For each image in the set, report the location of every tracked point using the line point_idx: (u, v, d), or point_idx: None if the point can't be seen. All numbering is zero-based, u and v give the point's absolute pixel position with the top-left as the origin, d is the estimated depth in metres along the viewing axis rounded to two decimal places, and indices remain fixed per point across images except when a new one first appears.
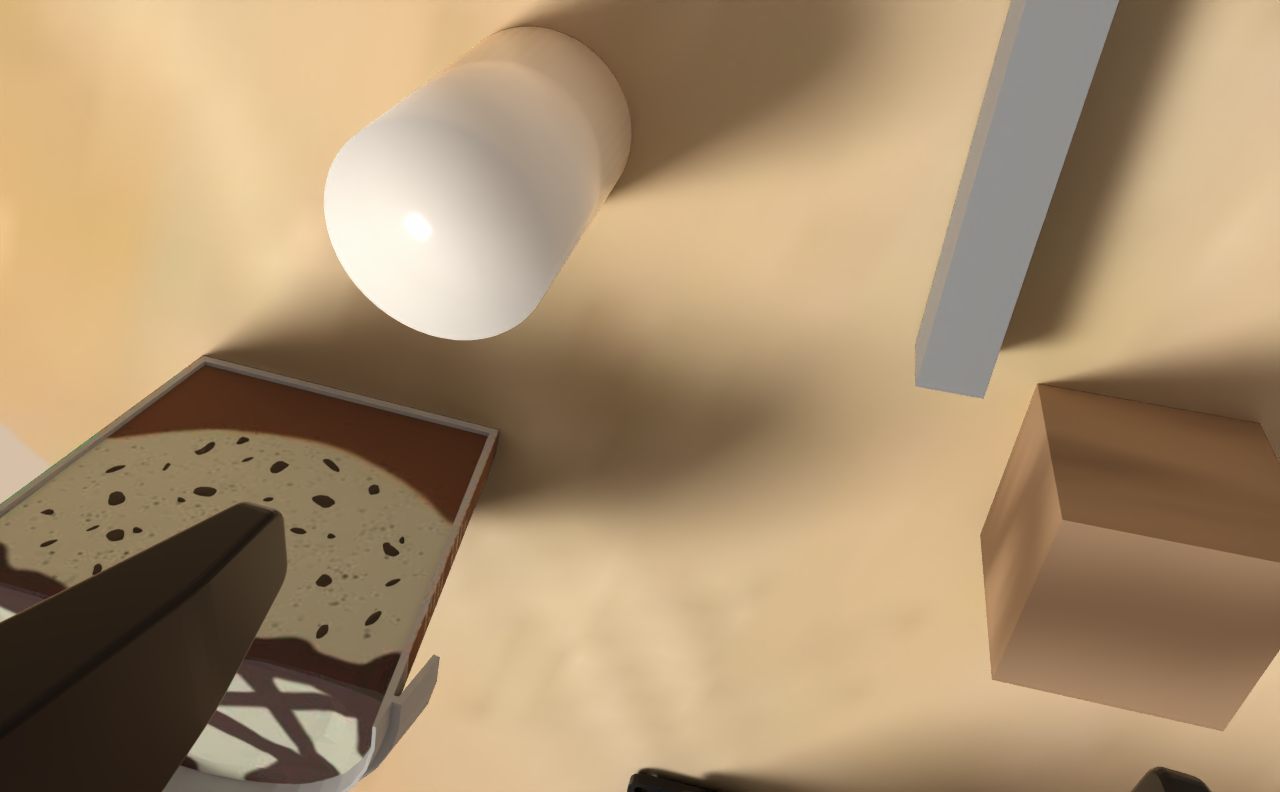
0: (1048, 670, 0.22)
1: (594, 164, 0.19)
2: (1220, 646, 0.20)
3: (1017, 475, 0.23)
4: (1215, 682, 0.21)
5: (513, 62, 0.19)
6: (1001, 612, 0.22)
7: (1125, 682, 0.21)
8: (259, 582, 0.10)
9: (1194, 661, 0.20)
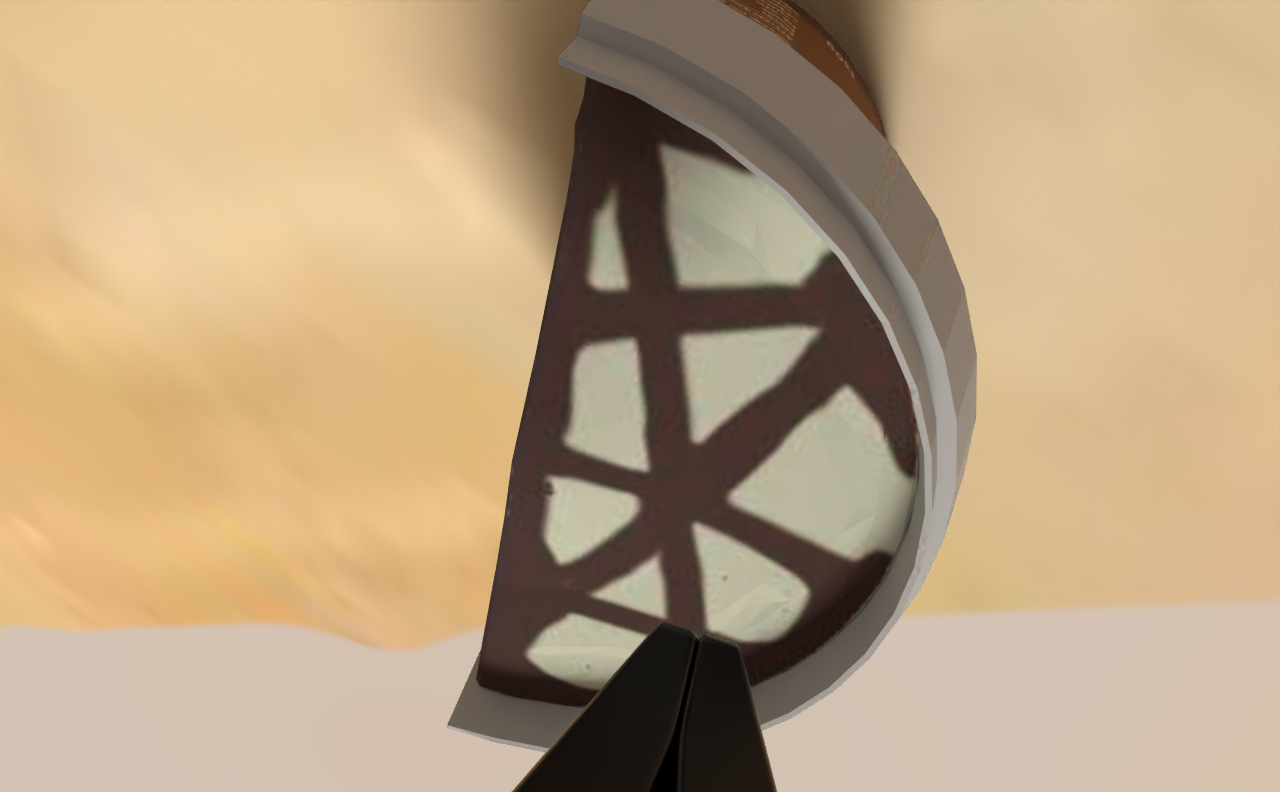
0: None
1: None
2: None
3: None
4: None
5: None
6: None
7: None
8: None
9: None
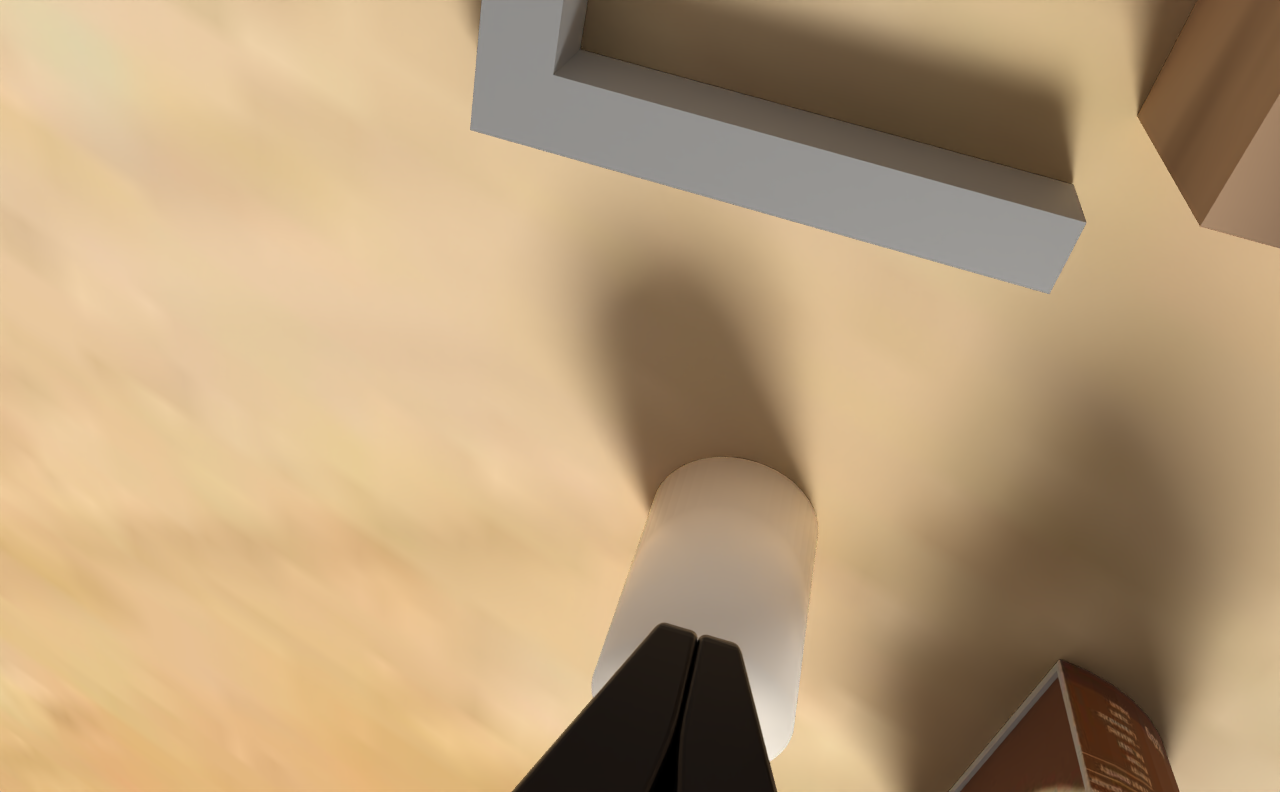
0: None
1: (713, 537, 0.22)
2: None
3: None
4: None
5: (634, 557, 0.23)
6: None
7: None
8: None
9: None
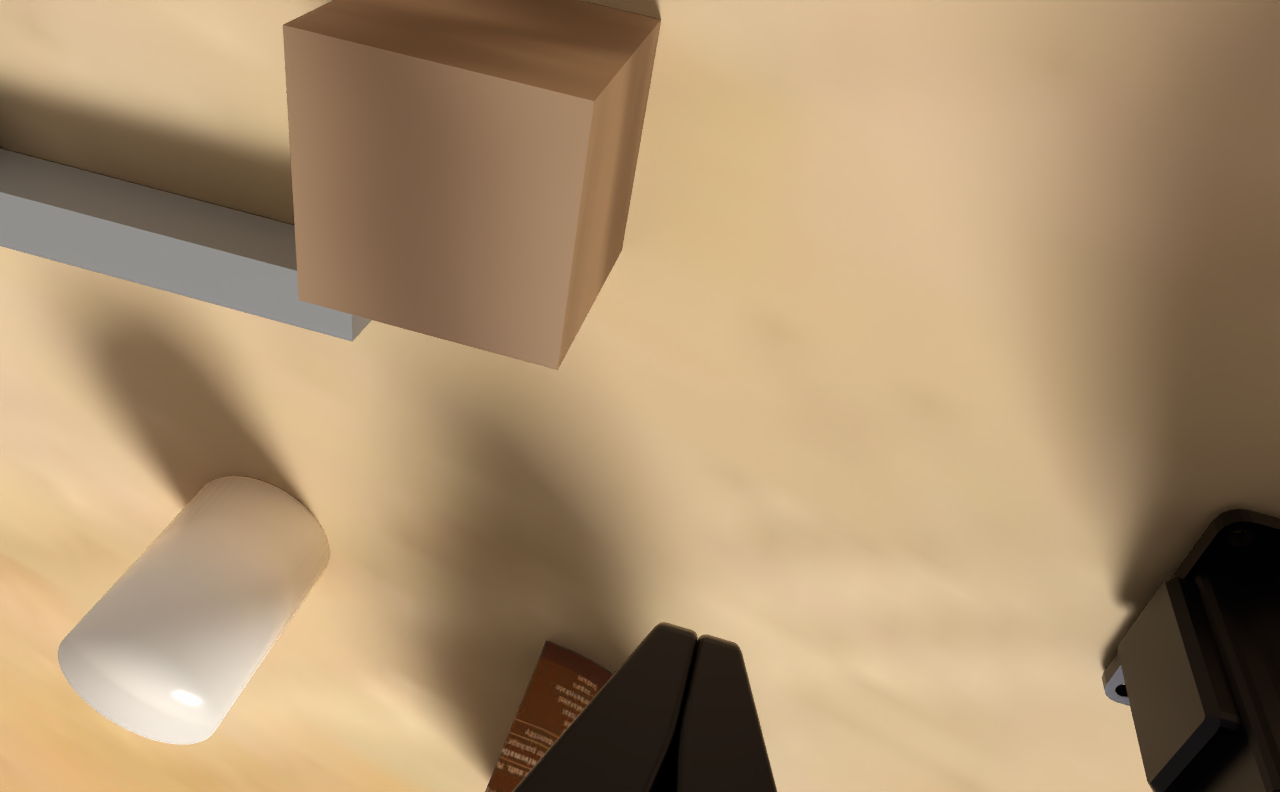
0: (526, 311, 0.17)
1: (179, 545, 0.26)
2: (433, 128, 0.15)
3: None
4: (500, 124, 0.15)
5: None
6: None
7: (526, 227, 0.16)
8: None
9: (468, 154, 0.15)
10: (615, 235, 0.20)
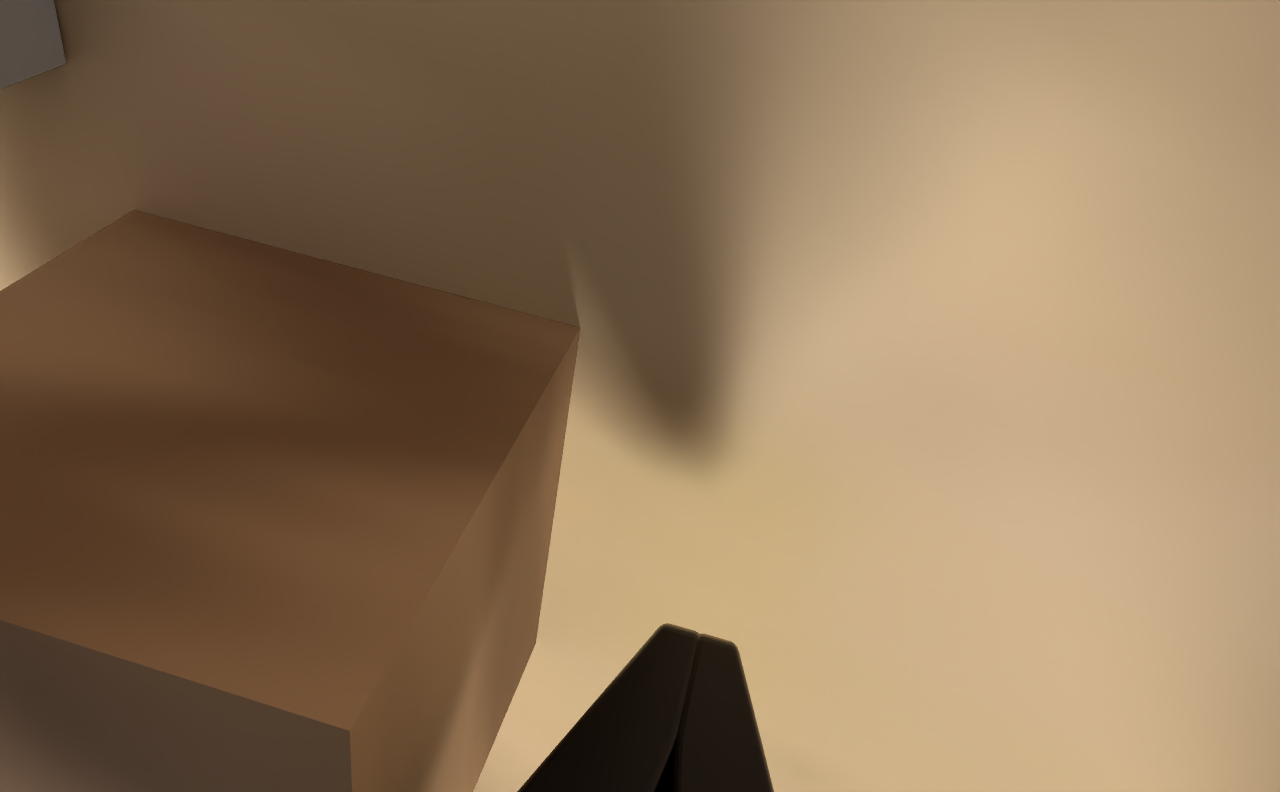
0: None
1: None
2: (19, 713, 0.07)
3: None
4: (152, 730, 0.06)
5: None
6: None
7: None
8: None
9: (102, 762, 0.07)
10: (510, 669, 0.11)
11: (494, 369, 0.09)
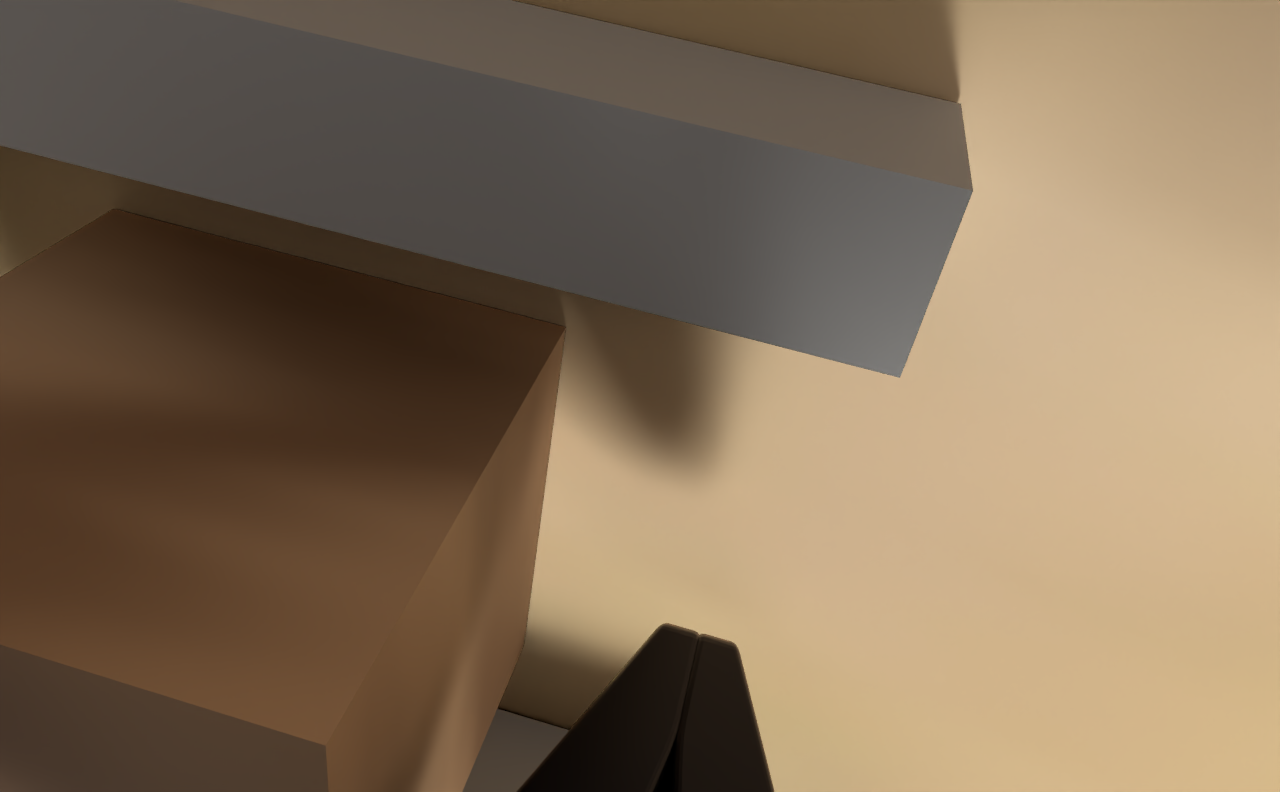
0: None
1: None
2: None
3: None
4: (125, 746, 0.06)
5: None
6: None
7: None
8: None
9: (75, 778, 0.07)
10: (497, 674, 0.11)
11: (477, 371, 0.09)
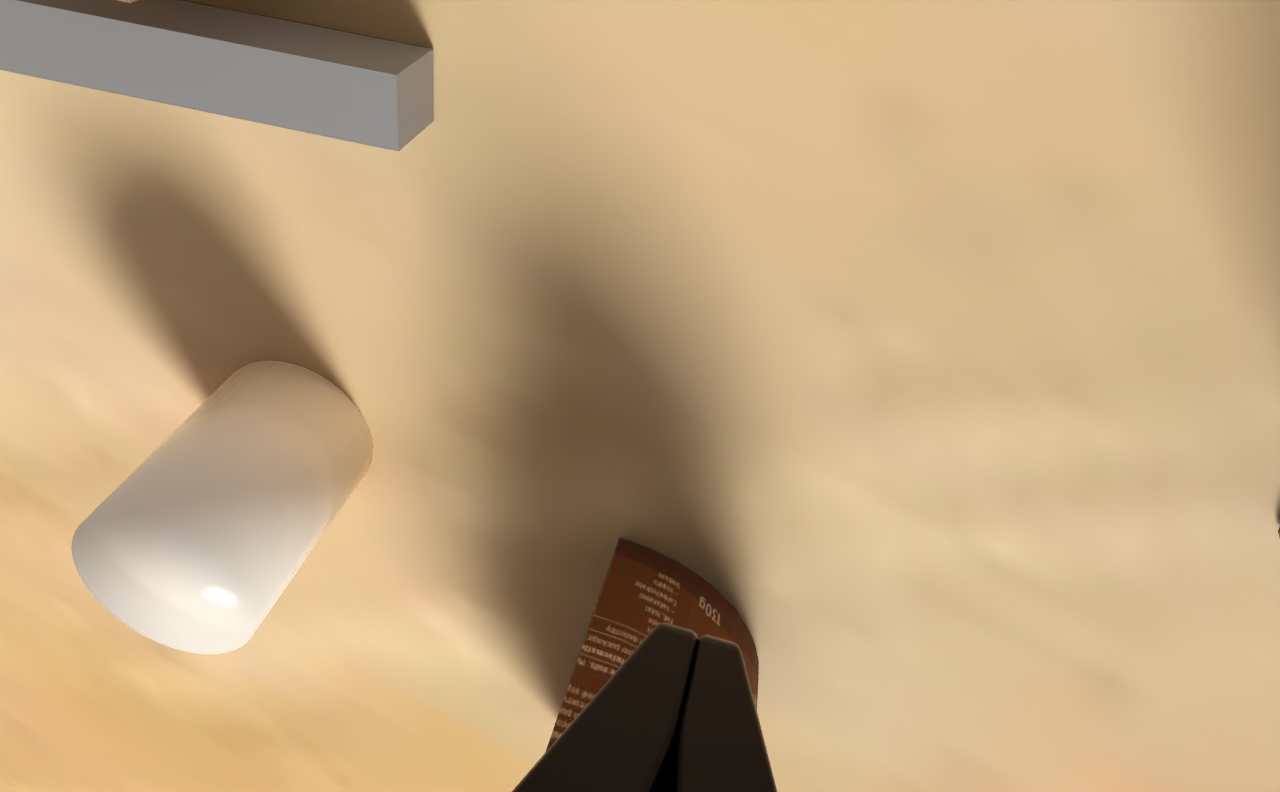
0: None
1: (204, 427, 0.23)
2: None
3: None
4: None
5: None
6: None
7: None
8: None
9: None
10: None
11: None
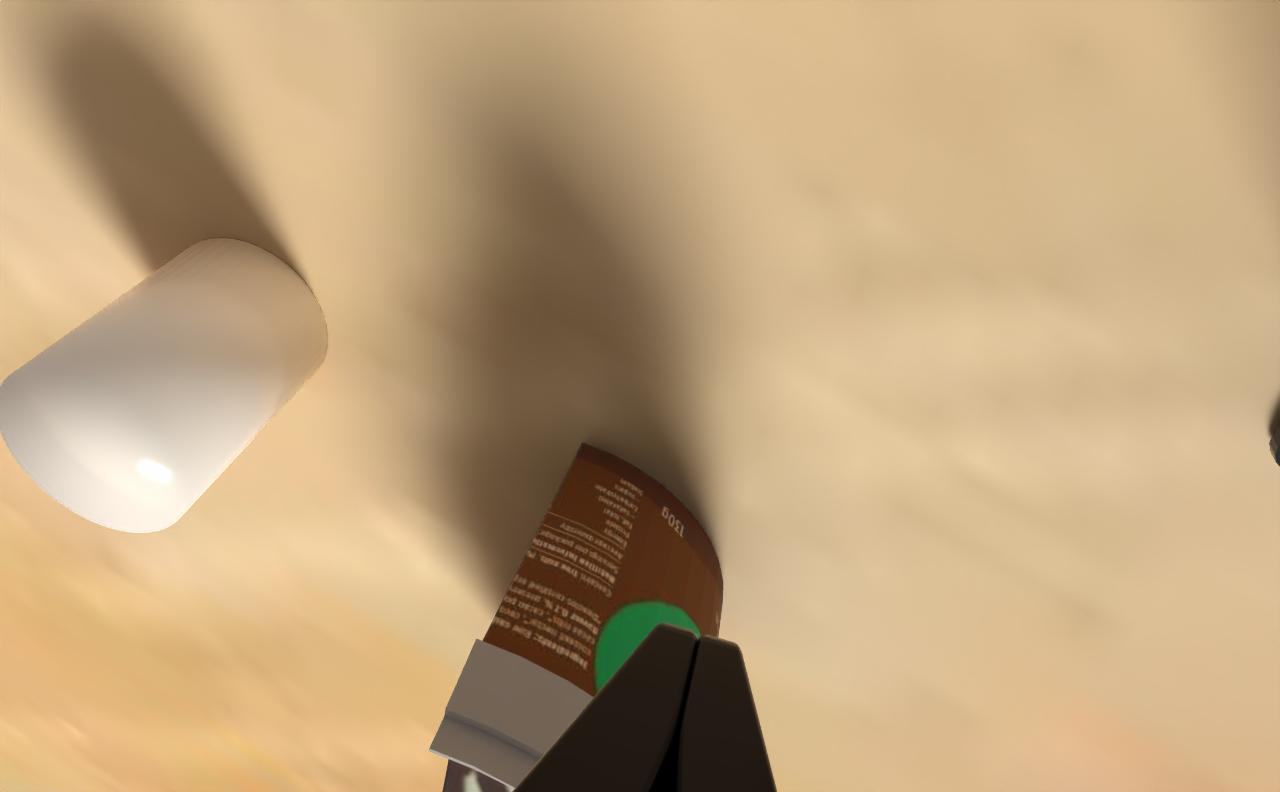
0: None
1: (145, 294, 0.22)
2: None
3: None
4: None
5: None
6: None
7: None
8: None
9: None
10: None
11: None
